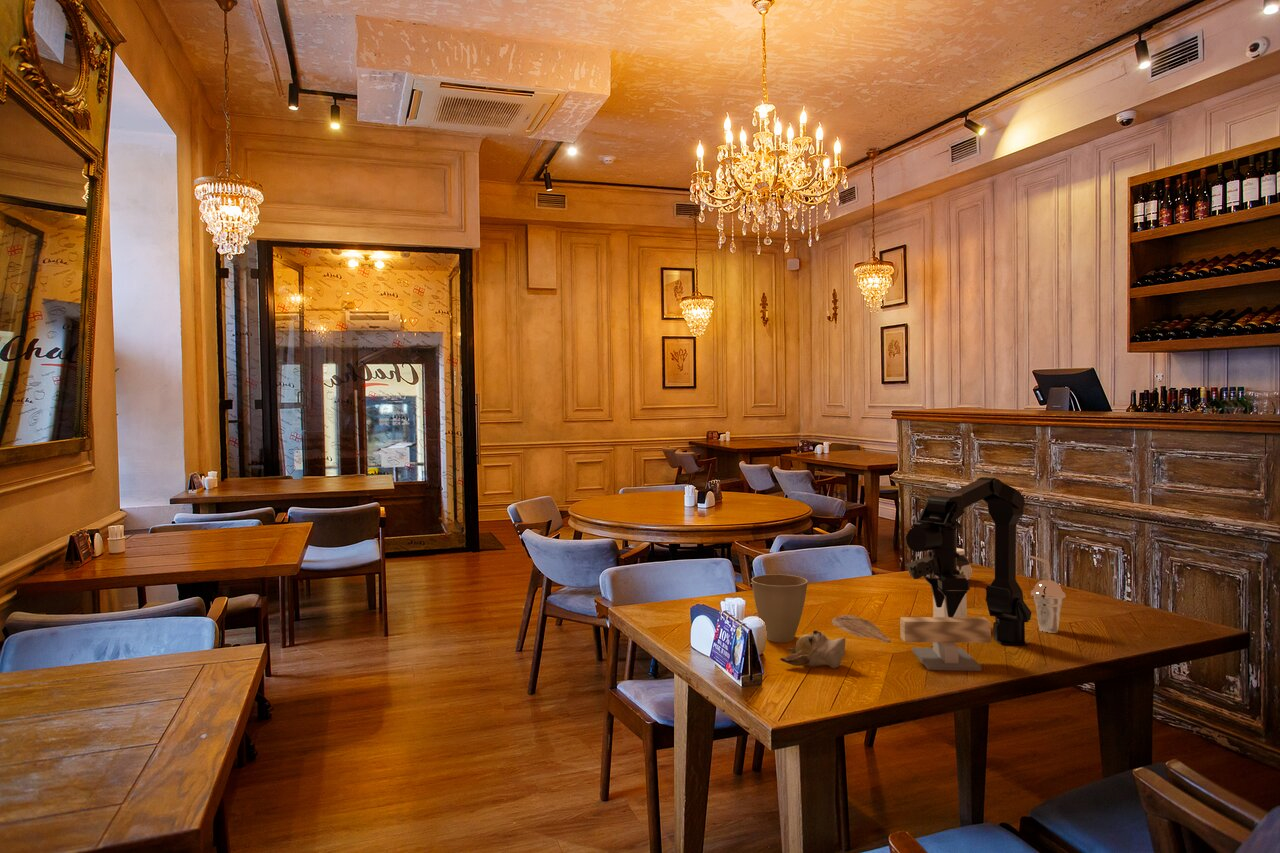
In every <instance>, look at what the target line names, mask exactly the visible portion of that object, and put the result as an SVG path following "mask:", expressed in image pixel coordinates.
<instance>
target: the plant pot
mask: <svg viewBox="0 0 1280 853" xmlns="http://www.w3.org/2000/svg"><path fill="white" fill-rule="evenodd" d="M750 579H751V584H752V585H751V586H752V593H753V599H754V604H755V607H756V608H755V609H756V612H757V616H758V619H759V618H761V619H762V620H763V621H764V622H765V625H766V631H767V639H766V640H768V641H770V642H774V643H789V642H792V641H794V639H795V637H796V633H797V630H798V628H799V626H800V622H801V618H802V614H803V611H804V608H805V607H804V606H805V602H806V598H807V597H806V596H807V591H808V590H807V589H808V583H809V582H808V579H806V578H804V577H801V576H797V575H792V574H779V573H777V574H775V573H771V574H770V573H769V574H761V575H756V576H753V577H752V578H750Z"/></svg>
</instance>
